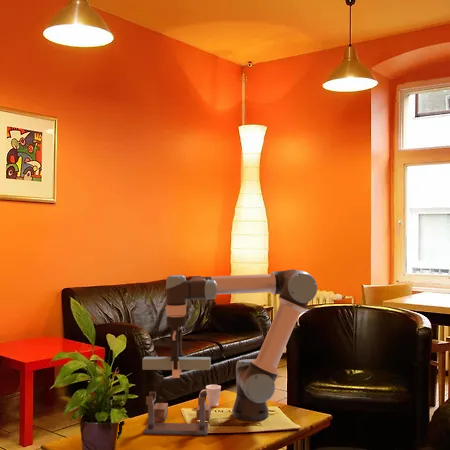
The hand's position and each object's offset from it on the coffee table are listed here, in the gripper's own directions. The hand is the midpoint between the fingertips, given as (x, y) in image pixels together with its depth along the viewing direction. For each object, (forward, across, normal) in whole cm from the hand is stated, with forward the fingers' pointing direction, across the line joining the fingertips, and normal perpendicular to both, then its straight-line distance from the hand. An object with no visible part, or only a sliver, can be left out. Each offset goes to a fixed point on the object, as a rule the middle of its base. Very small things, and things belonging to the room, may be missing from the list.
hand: (176, 375), depth 224 cm
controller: (+21, +7, -22) cm, 32 cm away
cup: (+22, -32, +10) cm, 40 cm away
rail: (-3, 0, 0) cm, 3 cm away
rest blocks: (+21, -14, 0) cm, 25 cm away
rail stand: (+21, 0, 0) cm, 21 cm away
